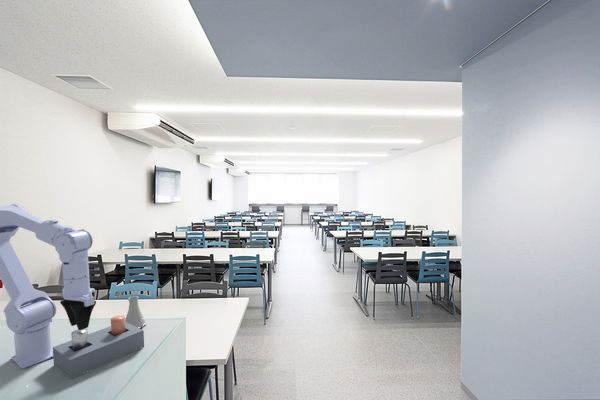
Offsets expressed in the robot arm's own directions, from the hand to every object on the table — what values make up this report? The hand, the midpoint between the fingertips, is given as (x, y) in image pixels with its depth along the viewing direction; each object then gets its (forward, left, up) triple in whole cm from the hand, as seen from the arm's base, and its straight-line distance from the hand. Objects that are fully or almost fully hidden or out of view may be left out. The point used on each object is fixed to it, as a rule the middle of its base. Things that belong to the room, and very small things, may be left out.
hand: (79, 326), depth 88 cm
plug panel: (0, +5, -10) cm, 11 cm away
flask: (-10, +20, -11) cm, 25 cm away
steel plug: (0, 0, -6) cm, 6 cm away
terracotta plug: (0, +10, -6) cm, 12 cm away
